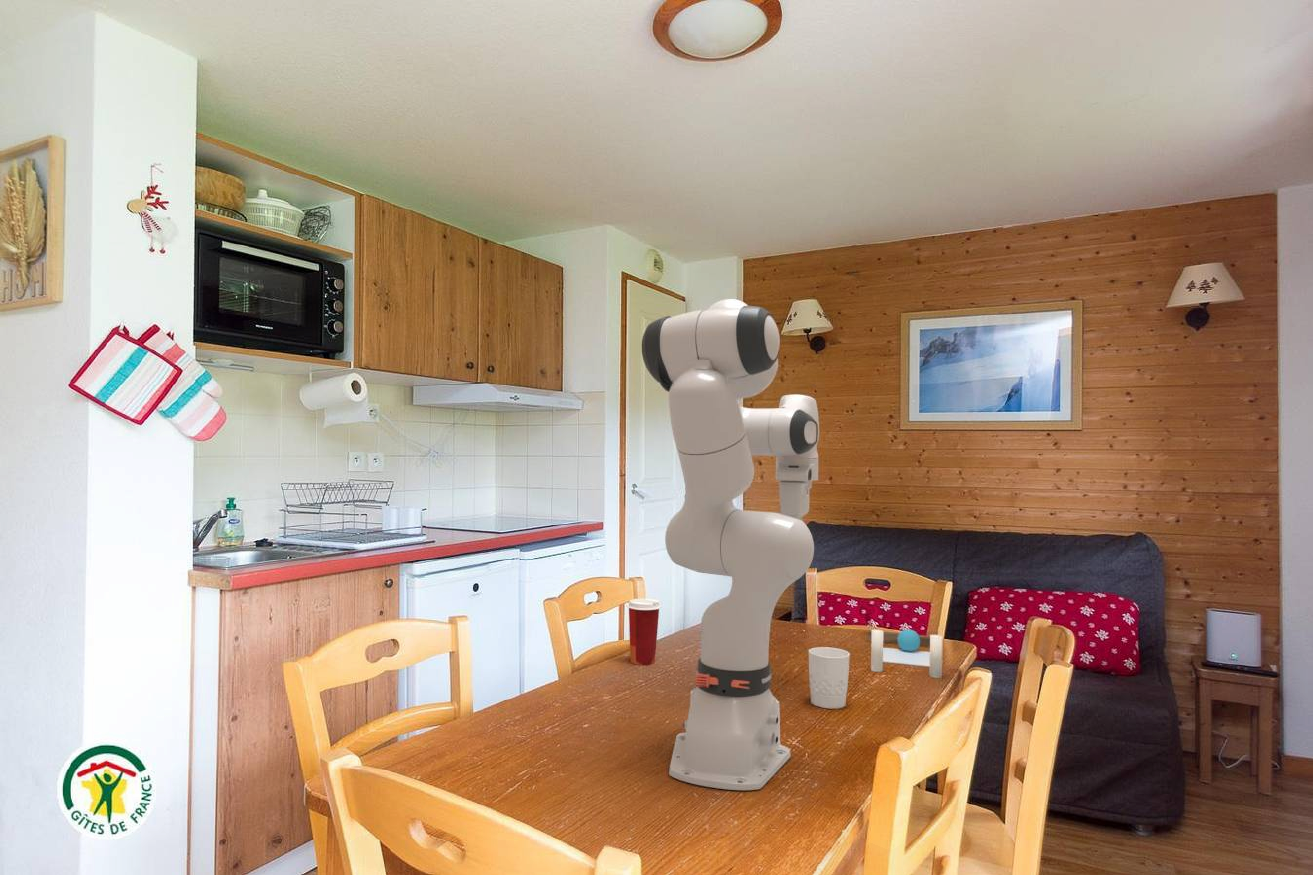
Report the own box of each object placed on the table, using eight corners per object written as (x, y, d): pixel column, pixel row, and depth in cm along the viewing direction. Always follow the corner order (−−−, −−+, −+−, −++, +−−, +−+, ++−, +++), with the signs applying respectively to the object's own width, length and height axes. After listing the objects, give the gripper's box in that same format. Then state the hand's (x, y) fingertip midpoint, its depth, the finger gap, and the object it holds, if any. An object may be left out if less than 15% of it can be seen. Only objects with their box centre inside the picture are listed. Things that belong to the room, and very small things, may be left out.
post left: (882, 672, 170) (883, 632, 170) (870, 671, 171) (871, 631, 171) (882, 669, 173) (883, 630, 173) (871, 668, 173) (871, 628, 174)
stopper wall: (940, 648, 194) (940, 638, 194) (868, 641, 199) (868, 631, 199) (940, 646, 196) (940, 636, 196) (868, 639, 201) (868, 630, 201)
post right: (942, 678, 166) (942, 637, 167) (929, 677, 167) (930, 636, 167) (941, 675, 169) (942, 635, 169) (929, 674, 170) (929, 634, 170)
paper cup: (665, 661, 175) (667, 600, 175) (647, 668, 168) (649, 605, 169) (637, 655, 179) (639, 596, 179) (618, 662, 173) (620, 601, 173)
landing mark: (936, 667, 175) (936, 666, 175) (874, 661, 180) (874, 660, 180) (933, 653, 189) (933, 652, 189) (875, 647, 193) (875, 646, 193)
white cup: (849, 711, 143) (850, 658, 143) (807, 707, 144) (808, 655, 145) (847, 698, 151) (848, 648, 151) (807, 695, 152) (808, 645, 152)
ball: (920, 645, 185) (921, 626, 189) (897, 642, 187) (898, 623, 191) (919, 657, 189) (919, 637, 193) (896, 654, 191) (897, 635, 194)
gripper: (788, 470, 170) (786, 532, 169) (774, 472, 150) (773, 541, 150) (816, 471, 168) (815, 534, 167) (807, 473, 148) (805, 543, 148)
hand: (795, 537), depth 158 cm, fingers closed
